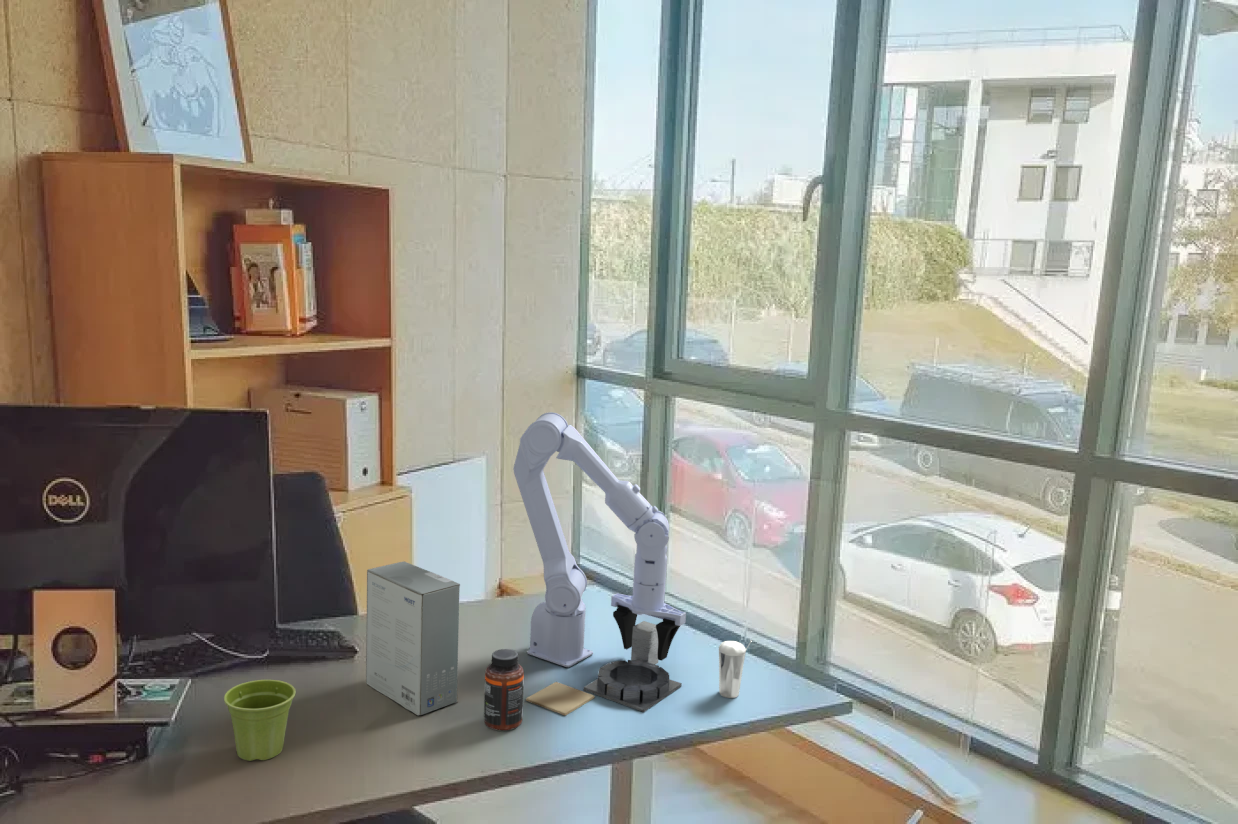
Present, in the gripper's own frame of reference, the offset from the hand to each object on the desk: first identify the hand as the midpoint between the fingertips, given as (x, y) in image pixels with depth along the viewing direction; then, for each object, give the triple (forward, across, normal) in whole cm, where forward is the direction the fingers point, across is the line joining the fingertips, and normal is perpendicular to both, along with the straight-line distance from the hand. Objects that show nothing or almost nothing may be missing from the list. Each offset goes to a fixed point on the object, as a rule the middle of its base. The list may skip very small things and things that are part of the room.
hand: (645, 652), depth 171 cm
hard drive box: (+2, -23, -35) cm, 42 cm away
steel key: (+2, 0, 0) cm, 2 cm away
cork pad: (+2, -3, -21) cm, 21 cm away
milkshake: (+2, +18, -1) cm, 18 cm away
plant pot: (+2, -26, -61) cm, 66 cm away
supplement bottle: (+2, -5, -33) cm, 33 cm away
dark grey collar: (+2, +4, -10) cm, 11 cm away
